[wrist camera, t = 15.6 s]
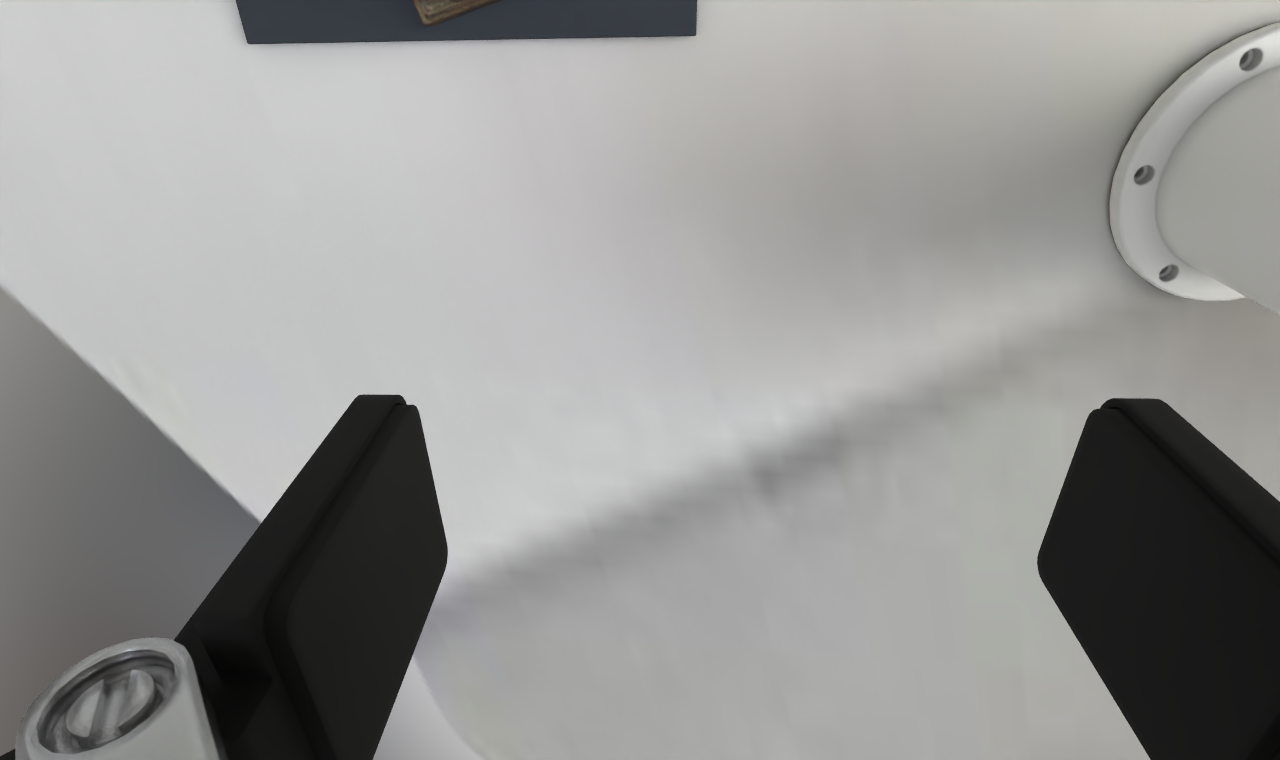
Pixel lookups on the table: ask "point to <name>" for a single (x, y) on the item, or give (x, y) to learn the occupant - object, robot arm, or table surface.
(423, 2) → the clothes iron
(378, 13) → the iron rest mat
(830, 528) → the table surface
